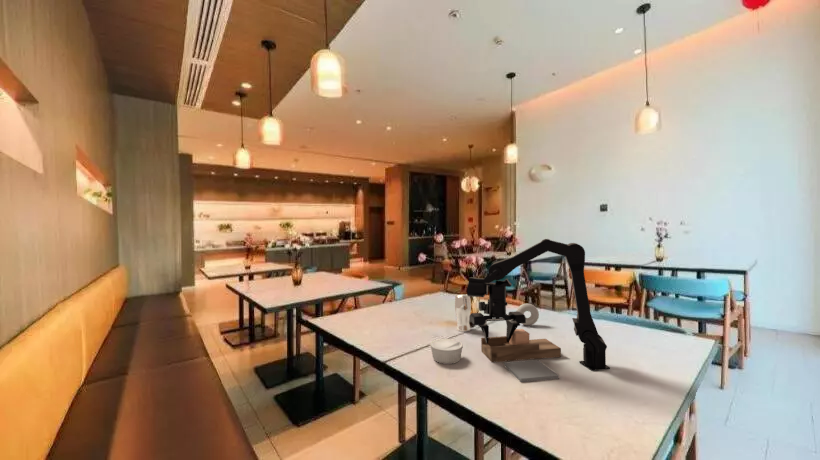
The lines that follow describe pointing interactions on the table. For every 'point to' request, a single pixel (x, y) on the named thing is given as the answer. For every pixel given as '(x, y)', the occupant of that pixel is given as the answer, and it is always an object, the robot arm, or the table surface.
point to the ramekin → (446, 350)
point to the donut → (534, 313)
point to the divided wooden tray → (518, 349)
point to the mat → (530, 370)
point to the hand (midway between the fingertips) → (497, 342)
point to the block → (519, 337)
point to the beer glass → (463, 312)
